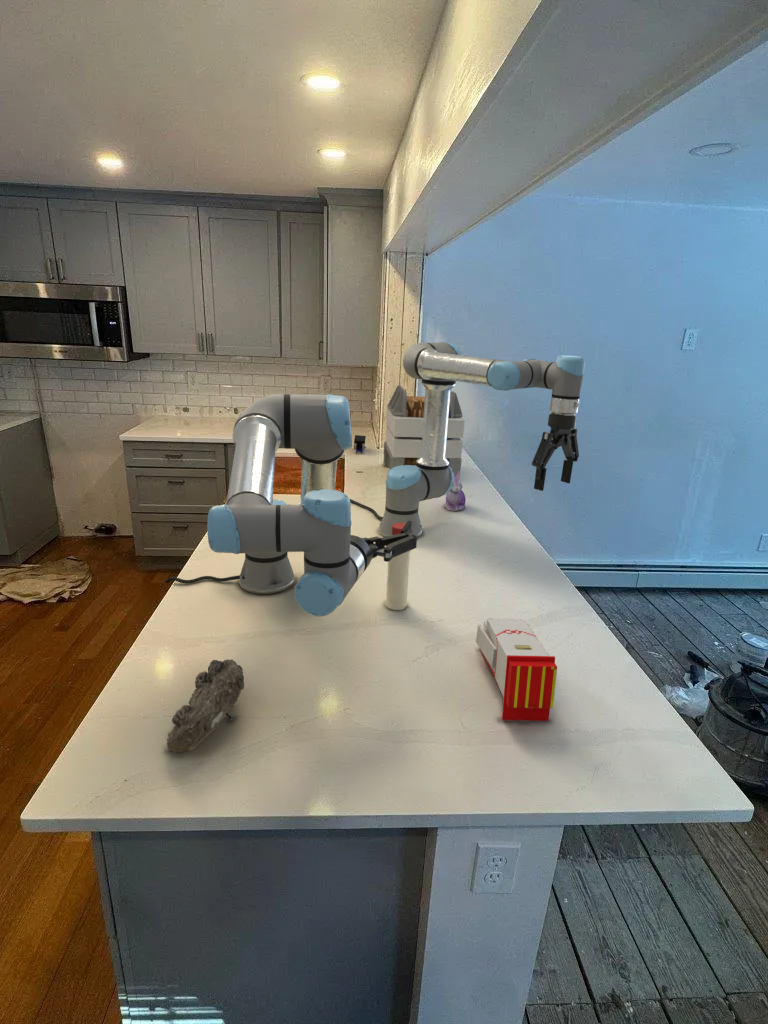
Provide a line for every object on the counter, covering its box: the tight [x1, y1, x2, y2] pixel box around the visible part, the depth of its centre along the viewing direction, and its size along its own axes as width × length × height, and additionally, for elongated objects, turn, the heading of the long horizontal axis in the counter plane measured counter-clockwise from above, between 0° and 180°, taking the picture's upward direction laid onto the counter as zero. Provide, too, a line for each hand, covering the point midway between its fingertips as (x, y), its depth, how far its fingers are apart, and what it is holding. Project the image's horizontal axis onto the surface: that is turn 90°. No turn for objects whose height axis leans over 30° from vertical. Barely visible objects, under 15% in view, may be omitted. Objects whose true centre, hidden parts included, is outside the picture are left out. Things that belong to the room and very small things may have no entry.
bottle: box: [385, 550, 411, 611], centre depth 148 cm, size 6×6×22 cm
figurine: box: [444, 470, 467, 512], centre depth 226 cm, size 9×10×15 cm
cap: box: [392, 523, 405, 535], centre depth 145 cm, size 4×4×2 cm
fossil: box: [166, 658, 245, 754], centre depth 106 cm, size 22×10×15 cm
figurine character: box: [353, 434, 367, 454], centre depth 311 cm, size 7×8×15 cm
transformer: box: [383, 384, 465, 476], centre depth 268 cm, size 34×33×41 cm
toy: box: [475, 618, 558, 722], centre depth 122 cm, size 12×13×30 cm
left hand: (378, 522), depth 122 cm, fingers open, 13 cm apart
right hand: (552, 485), depth 166 cm, fingers open, 13 cm apart
